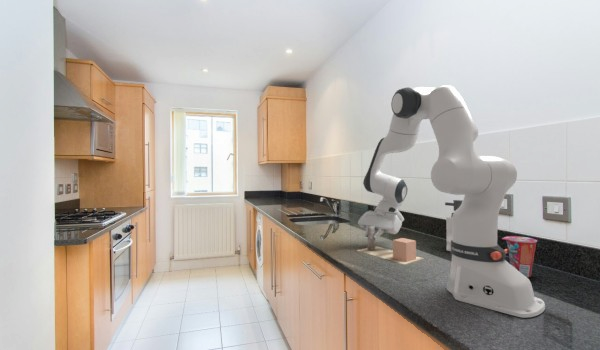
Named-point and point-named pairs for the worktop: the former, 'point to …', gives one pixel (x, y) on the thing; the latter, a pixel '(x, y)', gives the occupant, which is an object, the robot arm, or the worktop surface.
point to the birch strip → (381, 249)
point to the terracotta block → (404, 249)
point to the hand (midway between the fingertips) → (370, 237)
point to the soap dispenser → (449, 222)
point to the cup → (521, 253)
